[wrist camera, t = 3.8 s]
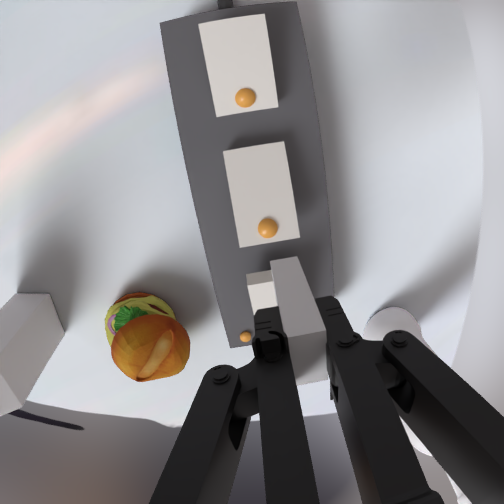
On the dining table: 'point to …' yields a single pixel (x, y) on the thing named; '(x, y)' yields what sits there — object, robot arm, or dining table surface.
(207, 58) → the rocker
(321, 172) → the power strip
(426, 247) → the dining table surface
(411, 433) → the bottle
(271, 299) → the rocker
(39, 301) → the milk carton
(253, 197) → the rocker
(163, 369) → the cheeseburger
